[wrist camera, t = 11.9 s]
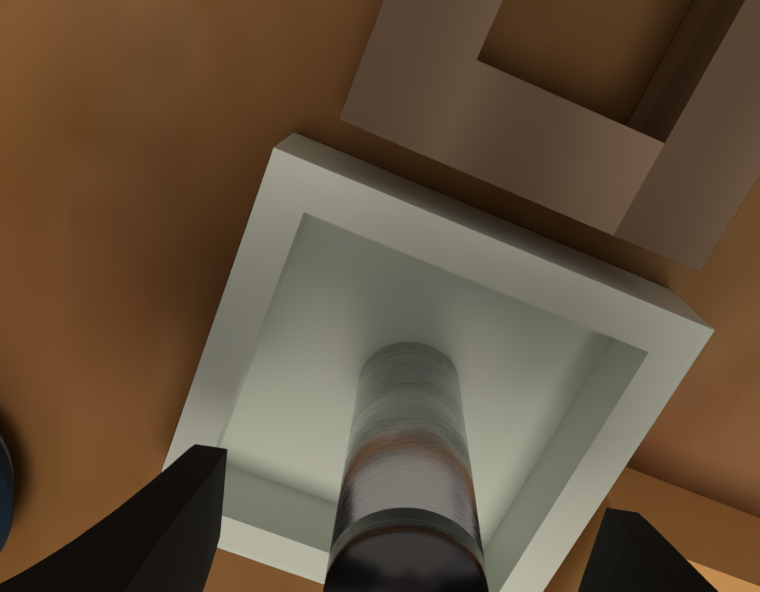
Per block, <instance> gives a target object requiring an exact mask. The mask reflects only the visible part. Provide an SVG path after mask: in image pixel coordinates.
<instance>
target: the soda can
mask: <svg viewBox="0 0 760 592" xmlns="http://www.w3.org/2000/svg"><path fill="white" fill-rule="evenodd" d="M13 511H14V473H13V465H12V461H11V457H10V454H9V451H8V449H7V447H6V445H5V443H4V441H3V439H2V437H1V435H0V552H1V550H2V549H3V547H4V545H5V543H6V541H7V538H8V535H9V533H10V529H11V525H12V519H13Z"/></svg>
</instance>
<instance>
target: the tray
mask: <svg viewBox="0 0 760 592" xmlns="http://www.w3.org/2000/svg"><path fill="white" fill-rule="evenodd" d="M713 332H714V329H713V328H712V327H710V326H709V325H708V324H707V323H706V322H705V321H704V320H703V319H702V318H701V317H700V316H699V315H698V314H696V313H695V312H694V311H693V310H692V309H691V308H690V307H689V306H688V305H687V304H686V303H685V302H684V301H683V300H681V299H680V298H679V297H678V296H677V295H676V294H675V293H674V292H673V291H672V290H670V289H668V288H666V287H663V286H661V285H658V284H656V283H654V282H651V281H649V280H646V279H644V278H642V277H639V276H637V275H635V274H632V273H630V272H627V271H625V270H623V269H620V268H618V267H615V266H613V265H611V264H608V263H606V262H603V261H601V260H599V259H596V258H594V257H592V256H589V255H587V254H584V253H582V252H580V251H577V250H575V249H572V248H570V247H568V246H565V245H563V244H560V243H558V242H556V241H553V240H551V239H549V238H546V237H544V236H541V235H539V234H537V233H534V232H532V231H529V230H527V229H525V228H522V227H520V226H517V225H515V224H513V223H510V222H508V221H506V220H503V219H501V218H498V217H496V216H494V215H491V214H489V213H486V212H484V211H482V210H479V209H477V208H474V207H472V206H470V205H467V204H465V203H463V202H460V201H458V200H455V199H453V198H451V197H448V196H446V195H443V194H441V193H439V192H436V191H434V190H431V189H429V188H427V187H424V186H422V185H420V184H417V183H415V182H412V181H410V180H408V179H405V178H403V177H400V176H398V175H396V174H393V173H391V172H388V171H386V170H384V169H381V168H379V167H377V166H374V165H372V164H369V163H367V162H365V161H362V160H360V159H357V158H355V157H353V156H350V155H348V154H345V153H343V152H341V151H338V150H336V149H334V148H331V147H329V146H326V145H324V144H322V143H319V142H317V141H314V140H312V139H310V138H307V137H305V136H303V135H300V134H298V133H295V132H293V133H292V134H291V135H289V136H288V137H287V138H286V139H284V140H283V141H282V142H280V143H279V144H278V145H276V146H275V147H274V148H273V151H272V154H271V157H270V160H269V163H268V166H267V168H266V171H265V174H264V177H263V180H262V183H261V186H260V189H259V192H258V195H257V197H256V200H255V203H254V206H253V209H252V212H251V215H250V218H249V221H248V223H247V226H246V229H245V232H244V235H243V238H242V241H241V244H240V247H239V249H238V252H237V255H236V258H235V261H234V264H233V267H232V270H231V273H230V276H229V278H228V281H227V284H226V287H225V290H224V293H223V296H222V299H221V302H220V304H219V307H218V310H217V313H216V316H215V319H214V322H213V325H212V328H211V330H210V333H209V336H208V339H207V342H206V345H205V348H204V351H203V354H202V356H201V359H200V362H199V365H198V368H197V371H196V374H195V377H194V380H193V383H192V385H191V388H190V391H189V394H188V397H187V400H186V403H185V406H184V409H183V411H182V414H181V417H180V420H179V423H178V426H177V429H176V432H175V435H174V437H173V440H172V443H171V446H170V449H169V452H168V455H167V458H166V461H165V463H164V466H163V469H162V472H163V471H164V470H165V469H166V468H167V467H168V466H170V465H171V464H172V463H173V462H174V461H175V460H176V459H177V458H179V457H180V456H181V455H182V454H183V453H184V452H185V451H186V450H188V449H189V448H190V447H192V446H193V445H195V444H199V445H205V446H212V447H218V448H225V449H228V450H227V462H226V474H225V486H224V498H223V509H222V521H221V533H220V539H219V542H218V545H217V547H218V548H220V549H223V550H226V551H229V552H232V553H235V554H238V555H241V556H244V557H246V558H249V559H252V560H255V561H258V562H261V563H264V564H267V565H270V566H272V567H275V568H278V569H281V570H284V571H287V572H290V573H293V574H296V575H298V576H301V577H304V578H307V579H310V580H313V581H316V582H319V583H322V584H324V583H325V577H326V571H327V565H328V559H329V553H330V547H331V541H332V535H333V530H334V524H335V518H336V512H337V506H338V500H339V494H340V488H341V482H342V476H343V470H344V464H345V458H346V453H347V447H348V441H349V435H350V429H351V423H352V417H353V411H354V405H355V399H356V393H357V387H358V381H359V377H360V373H361V371H362V368H363V366H364V365H365V363H366V362H367V360H368V359H369V358H370V357H371V356H372V355H373V354H374V353H375V352H377V351H378V350H380V349H382V348H383V347H385V346H388V345H390V344H394V343H398V342H419V343H423V344H426V345H429V346H432V347H433V348H435V349H437V350H439V351H440V352H441V353H443V354H444V355H445V356H446V357H447V358H448V359H449V360H450V362H451V363H452V364H453V366H454V368H455V370H456V372H457V375H458V379H459V385H460V392H461V399H462V406H463V413H464V420H465V428H466V435H467V442H468V449H469V456H470V463H471V470H472V477H473V484H474V491H475V498H476V505H477V512H478V519H479V526H480V533H481V540H482V547H483V555H484V562H485V569H486V576H487V583H488V590H489V592H543V591H544V589H545V588H546V586H547V585H548V583H549V582H550V580H551V579H552V577H553V576H554V574H555V573H556V571H557V569H558V568H559V566H560V565H561V563H562V562H563V560H564V559H565V557H566V556H567V554H568V553H569V551H570V550H571V548H572V547H573V545H574V544H575V542H576V541H577V539H578V538H579V536H580V534H581V533H582V531H583V530H584V528H585V527H586V525H587V524H588V522H589V521H590V519H591V518H592V516H593V515H594V513H595V512H596V510H597V509H598V507H599V506H600V504H601V502H602V501H603V499H604V498H605V496H606V495H607V493H608V492H609V490H610V489H611V487H612V486H613V484H614V483H615V481H616V480H617V478H618V477H619V475H620V474H621V472H622V471H623V469H624V467H625V466H626V464H627V463H628V461H629V460H630V458H631V457H632V455H633V454H634V452H635V451H636V449H637V448H638V446H639V445H640V443H641V442H642V440H643V439H644V437H645V436H646V434H647V432H648V431H649V429H650V428H651V426H652V425H653V423H654V422H655V420H656V419H657V417H658V416H659V414H660V413H661V411H662V410H663V408H664V407H665V405H666V404H667V402H668V401H669V399H670V397H671V396H672V394H673V393H674V391H675V390H676V388H677V387H678V385H679V384H680V382H681V381H682V379H683V378H684V376H685V375H686V373H687V372H688V370H689V369H690V367H691V366H692V364H693V362H694V361H695V359H696V358H697V356H698V355H699V353H700V352H701V350H702V349H703V347H704V346H705V344H706V343H707V341H708V340H709V338H710V337H711V335H712V334H713Z"/></svg>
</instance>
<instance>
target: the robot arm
mask: <svg viewBox="0 0 760 592" xmlns="http://www.w3.org/2000/svg"><path fill="white" fill-rule="evenodd" d="M227 450H228V449H225V448H218V447H212V446H205V445H199V444H195V445H193V446H192V447H190V448H189V449H188V450H186V451H185V452H184V453H183V454H182V455H181V456H180V457H179V458H177V459H176V460H175V461H174V462H173V463H172V464H171V465H170V466H168V467H167V468H166V469H165V470H164V471H163V472H161V473H160V474H159V475H158V476H157V477H156V478H154V479H153V480H152V481H151V482H150V483H149V484H147V485H146V486H145V487H144V488H142V489H141V490H140V491H139V492H137V493H136V494H135V495H134V496H132V497H131V498H130V499H129V500H127V501H126V502H125V503H124V504H122V505H121V506H120V507H119V508H117V509H116V510H115V511H113V512H112V513H111V514H109V515H108V516H107V517H105V518H104V519H102V520H101V521H100V522H98V523H97V524H96V525H94V526H93V527H91V528H90V529H89V530H87V531H86V532H84V533H83V534H82V535H80V536H79V537H77V538H76V539H74V540H73V541H71V542H70V543H68V544H67V545H65V546H64V547H62V548H61V549H59V550H58V551H56V552H55V553H53V554H52V555H50V556H48V557H47V558H45V559H43V560H42V561H40V562H38V563H37V564H35V565H34V566H32V567H30V568H29V569H27V570H25V571H23V572H22V573H20V574H18V575H16V576H14V577H12V578H10V579H8V580H7V581H5V582H3V583H1V584H0V592H202V591H203V589H204V587H205V584H206V580H207V577H208V574H209V571H210V568H211V565H212V562H213V558H214V555H215V552H216V548H217V545H218V542H219V539H220V533H221V521H222V509H223V498H224V486H225V474H226V462H227ZM578 592H719V591H718V590H716V589H715V588H714V587H713V586H712V585H711V584H710V583H709V582H708V581H707V580H706V579H705V578H704V577H703V576H702V575H701V574H700V573H699V572H698V571H697V570H696V569H695V568H694V567H693V566H692V565H691V564H690V563H689V562H688V561H687V560H686V559H685V558H684V557H683V556H682V555H681V554H680V553H679V552H678V551H677V550H676V549H675V548H674V547H673V546H672V545H671V544H670V543H669V542H668V541H667V540H666V539H665V538H664V537H663V536H662V535H661V534H660V533H659V532H658V531H657V530H656V529H655V528H654V527H653V526H652V525H651V524H650V523H649V522H648V521H647V520H646V519H645V518H644V517H643V516H642V515H640V514H639V513H638V512H632V511H625V510H619V509H612V508H606V510H605V513H604V516H603V519H602V522H601V525H600V527H599V530H598V533H597V536H596V539H595V542H594V545H593V548H592V551H591V554H590V557H589V560H588V563H587V565H586V568H585V571H584V574H583V577H582V580H581V583H580V586H579V589H578Z"/></svg>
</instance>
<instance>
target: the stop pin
mask: <svg viewBox="0 0 760 592" xmlns="http://www.w3.org/2000/svg"><path fill="white" fill-rule="evenodd" d="M323 592H489V590H488V583H487V576H486V569H485V562H484V555H483V547H482V540H481V533H480V526H479V519H478V512H477V505H476V498H475V491H474V484H473V477H472V470H471V463H470V456H469V449H468V442H467V435H466V428H465V420H464V413H463V406H462V399H461V392H460V385H459V379H458V375H457V372H456V370H455V368H454V366H453V364H452V363H451V362H450V360H449V359H448V358H447V357H446V356H445V355H444V354H443V353H441V352H440V351H439V350H437V349H435V348H433V347H432V346H429V345H426V344H423V343H419V342H398V343H394V344H390V345H388V346H385V347H383V348H382V349H380V350H378V351H377V352H375V353H374V354H373V355H372V356H371V357H370V358H369V359H368V360H367V362H366V363H365V365H364V366H363V368H362V371H361V373H360V377H359V381H358V387H357V393H356V399H355V405H354V411H353V417H352V423H351V429H350V435H349V441H348V447H347V453H346V458H345V464H344V470H343V476H342V482H341V488H340V494H339V500H338V506H337V512H336V518H335V524H334V530H333V535H332V541H331V547H330V553H329V559H328V565H327V571H326V577H325V583H324V589H323Z"/></svg>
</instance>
